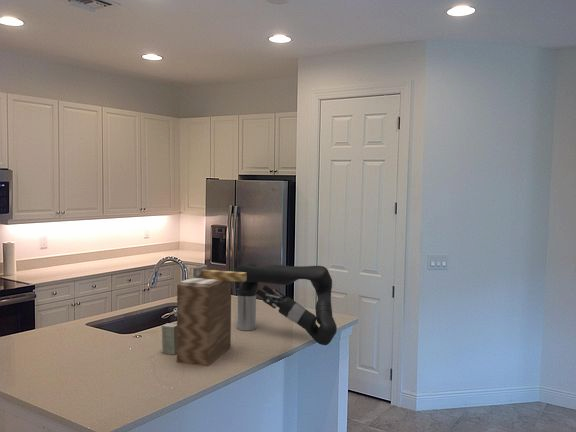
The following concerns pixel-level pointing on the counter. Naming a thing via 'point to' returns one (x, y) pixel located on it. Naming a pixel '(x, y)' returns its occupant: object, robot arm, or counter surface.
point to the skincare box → (169, 338)
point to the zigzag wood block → (203, 320)
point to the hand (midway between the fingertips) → (260, 288)
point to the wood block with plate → (218, 274)
